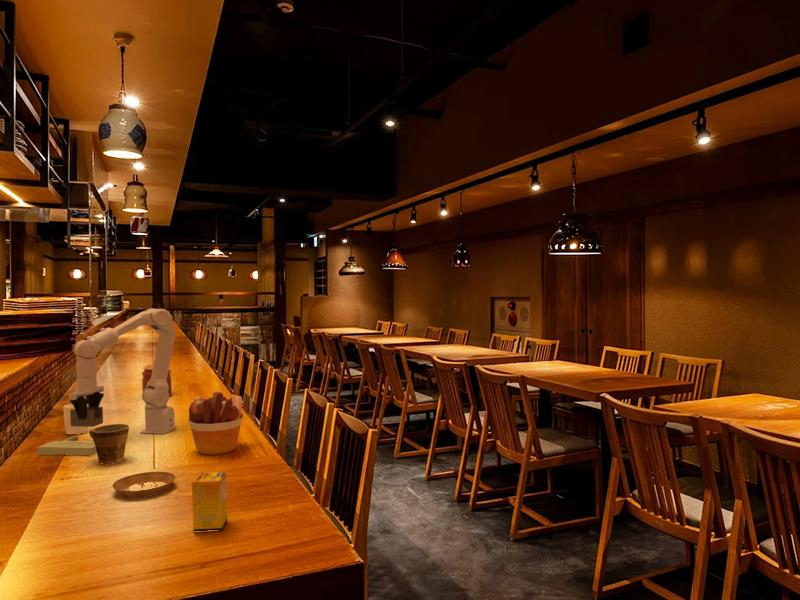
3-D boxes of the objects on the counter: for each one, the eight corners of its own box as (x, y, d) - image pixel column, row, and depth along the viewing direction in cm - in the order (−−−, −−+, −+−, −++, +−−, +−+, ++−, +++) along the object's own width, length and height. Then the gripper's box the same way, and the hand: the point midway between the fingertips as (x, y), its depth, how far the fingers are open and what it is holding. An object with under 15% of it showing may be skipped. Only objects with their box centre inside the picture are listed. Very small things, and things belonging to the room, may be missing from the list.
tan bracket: (117, 444, 187) (117, 436, 187) (91, 456, 174) (91, 447, 174) (67, 443, 189) (66, 435, 189) (37, 454, 176) (37, 446, 176)
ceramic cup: (137, 457, 172) (136, 425, 172) (110, 467, 162) (109, 433, 162) (104, 454, 176) (103, 422, 176) (76, 463, 167) (75, 430, 166)
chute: (103, 422, 190) (102, 407, 189) (93, 426, 185) (92, 410, 184) (81, 422, 191) (80, 406, 190) (70, 426, 186) (70, 409, 185)
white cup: (78, 436, 198) (77, 407, 198) (58, 435, 200) (57, 407, 199) (94, 430, 206) (93, 403, 206) (75, 429, 207) (74, 402, 207)
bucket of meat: (188, 445, 184) (186, 385, 183) (240, 439, 190) (238, 380, 190) (191, 463, 166) (189, 396, 165) (248, 456, 172) (247, 390, 171)
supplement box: (200, 521, 124) (198, 472, 124) (227, 520, 125) (226, 471, 125) (192, 533, 118) (191, 481, 118) (221, 532, 119) (220, 480, 119)
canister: (165, 399, 260) (164, 361, 260) (137, 400, 261) (136, 361, 260) (176, 394, 273) (175, 357, 273) (150, 394, 274) (149, 358, 273)
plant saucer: (131, 480, 152) (130, 471, 152) (185, 480, 152) (184, 470, 152) (100, 501, 138) (100, 491, 137) (160, 501, 137) (159, 491, 137)
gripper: (90, 373, 195) (91, 412, 195) (59, 380, 180) (61, 422, 181) (109, 373, 194) (110, 412, 194) (80, 380, 180) (81, 422, 180)
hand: (87, 417), depth 187 cm, fingers closed on chute, 5 cm apart
